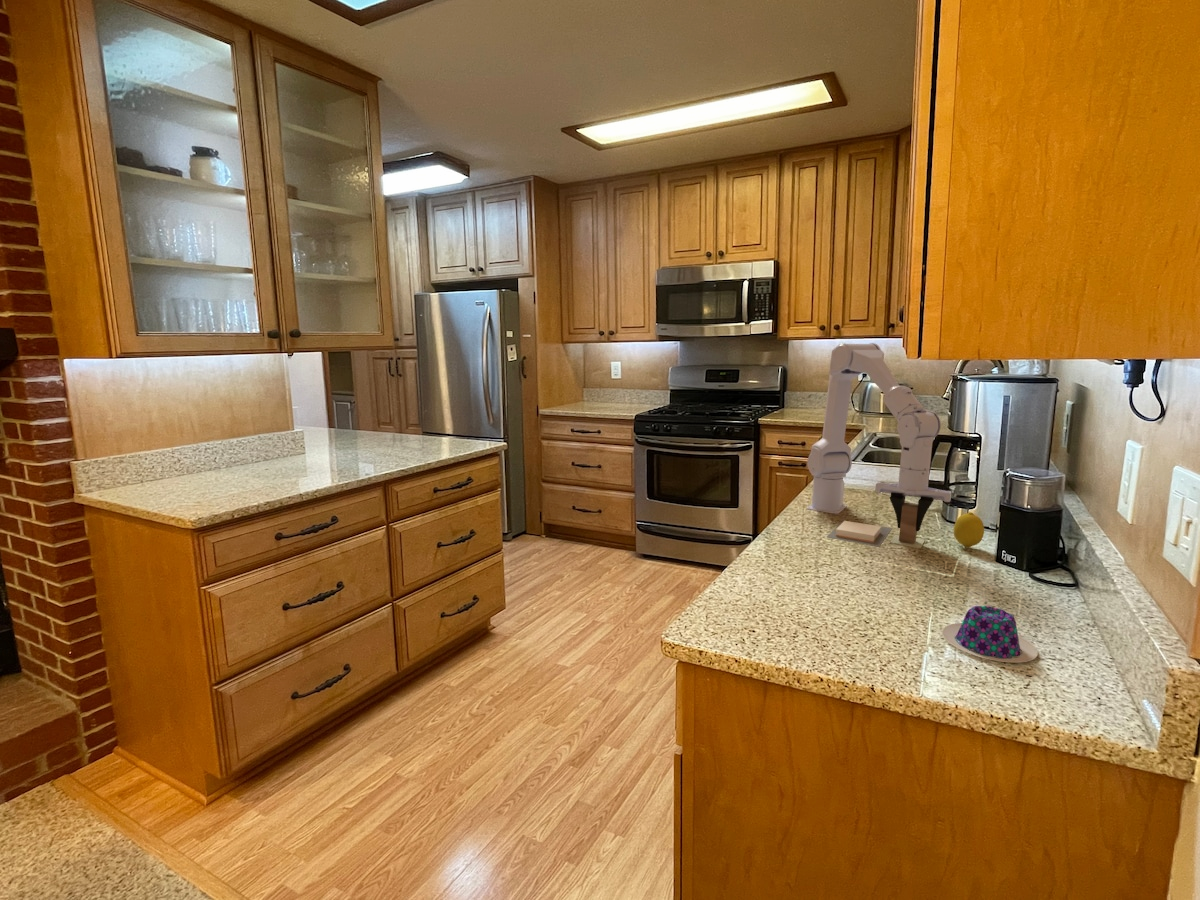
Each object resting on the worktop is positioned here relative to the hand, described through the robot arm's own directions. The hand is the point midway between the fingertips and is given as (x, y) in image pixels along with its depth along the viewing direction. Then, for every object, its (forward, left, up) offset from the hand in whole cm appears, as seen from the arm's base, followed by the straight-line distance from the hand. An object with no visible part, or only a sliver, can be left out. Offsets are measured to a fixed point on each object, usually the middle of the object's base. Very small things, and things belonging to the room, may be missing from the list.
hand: (908, 528), depth 135 cm
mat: (-1, -10, -3) cm, 11 cm away
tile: (-3, -10, -2) cm, 11 cm away
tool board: (0, 0, -3) cm, 3 cm away
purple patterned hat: (+43, +17, -4) cm, 46 cm away
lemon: (-4, +11, -4) cm, 12 cm away
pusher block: (0, 0, -2) cm, 3 cm away
